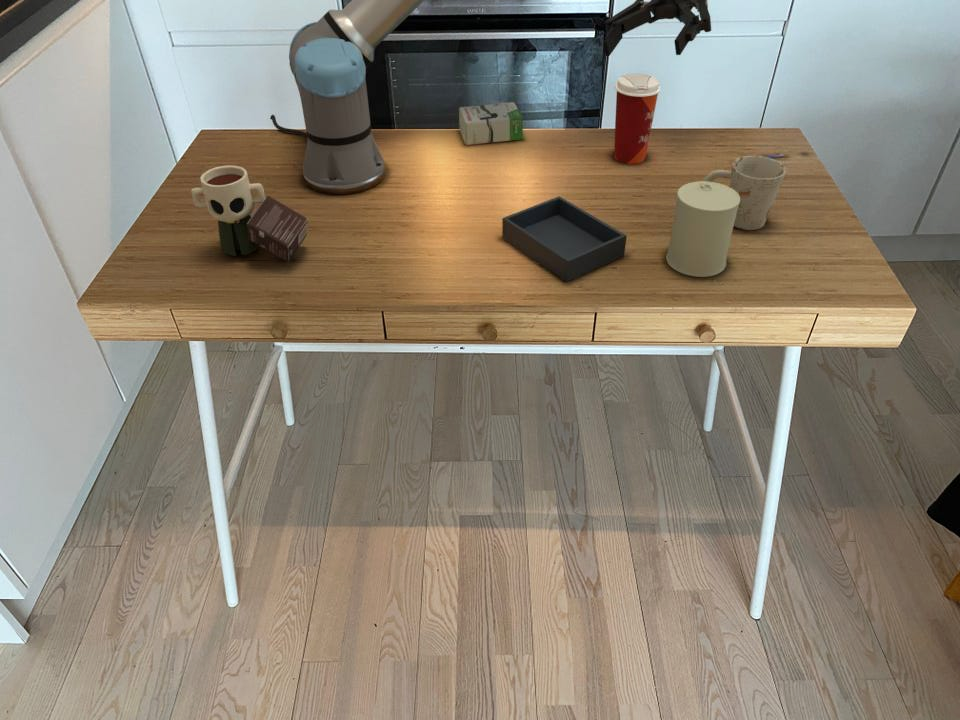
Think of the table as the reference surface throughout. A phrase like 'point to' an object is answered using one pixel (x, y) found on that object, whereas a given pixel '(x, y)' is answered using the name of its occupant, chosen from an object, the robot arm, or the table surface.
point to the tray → (563, 238)
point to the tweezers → (775, 155)
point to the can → (702, 228)
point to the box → (277, 228)
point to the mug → (753, 188)
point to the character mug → (230, 205)
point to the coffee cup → (634, 116)
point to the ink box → (490, 123)
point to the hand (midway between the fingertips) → (640, 48)
